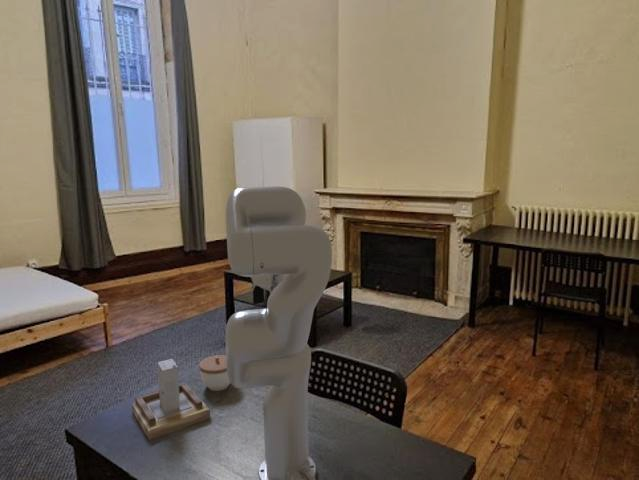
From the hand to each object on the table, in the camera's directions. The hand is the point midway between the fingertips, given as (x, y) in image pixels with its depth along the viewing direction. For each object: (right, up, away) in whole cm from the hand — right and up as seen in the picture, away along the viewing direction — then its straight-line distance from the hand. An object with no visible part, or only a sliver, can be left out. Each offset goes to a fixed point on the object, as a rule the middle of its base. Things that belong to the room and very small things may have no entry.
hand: (267, 307), depth 125 cm
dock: (-26, -29, 0) cm, 39 cm away
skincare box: (-26, -27, -1) cm, 38 cm away
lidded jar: (-17, -26, +15) cm, 35 cm away
